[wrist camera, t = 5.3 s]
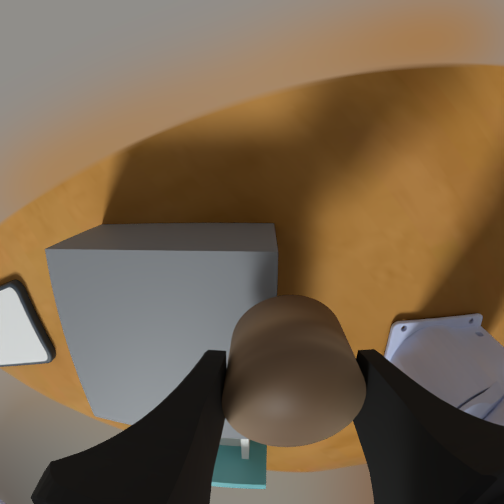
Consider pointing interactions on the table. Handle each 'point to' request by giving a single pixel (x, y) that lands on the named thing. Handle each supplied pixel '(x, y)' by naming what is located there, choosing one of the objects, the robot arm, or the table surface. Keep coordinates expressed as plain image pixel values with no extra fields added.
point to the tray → (240, 464)
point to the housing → (155, 304)
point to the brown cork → (291, 374)
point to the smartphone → (21, 329)
